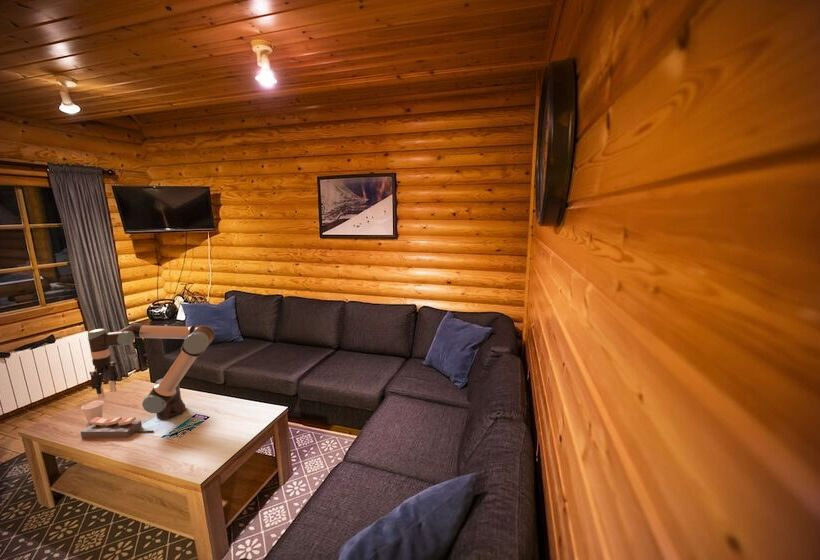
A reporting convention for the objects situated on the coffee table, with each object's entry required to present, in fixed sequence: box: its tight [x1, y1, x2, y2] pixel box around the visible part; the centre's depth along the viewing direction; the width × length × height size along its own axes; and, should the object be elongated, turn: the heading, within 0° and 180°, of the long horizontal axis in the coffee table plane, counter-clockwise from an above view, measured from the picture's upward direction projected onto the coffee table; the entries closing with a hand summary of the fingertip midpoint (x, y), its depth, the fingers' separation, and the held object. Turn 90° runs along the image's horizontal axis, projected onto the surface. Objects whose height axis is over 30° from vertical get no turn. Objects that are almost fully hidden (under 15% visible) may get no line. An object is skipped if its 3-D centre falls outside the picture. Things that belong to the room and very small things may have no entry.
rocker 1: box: [89, 417, 110, 426], centre depth 192 cm, size 7×4×2 cm, turn 90°
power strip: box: [80, 420, 155, 439], centre depth 191 cm, size 36×10×5 cm, turn 90°
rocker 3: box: [118, 416, 137, 426], centre depth 192 cm, size 7×4×2 cm, turn 90°
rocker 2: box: [104, 416, 123, 426], centre depth 192 cm, size 7×4×2 cm, turn 90°
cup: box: [80, 399, 104, 424], centre depth 202 cm, size 10×10×11 cm
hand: (107, 394), depth 189 cm, fingers open, 7 cm apart
